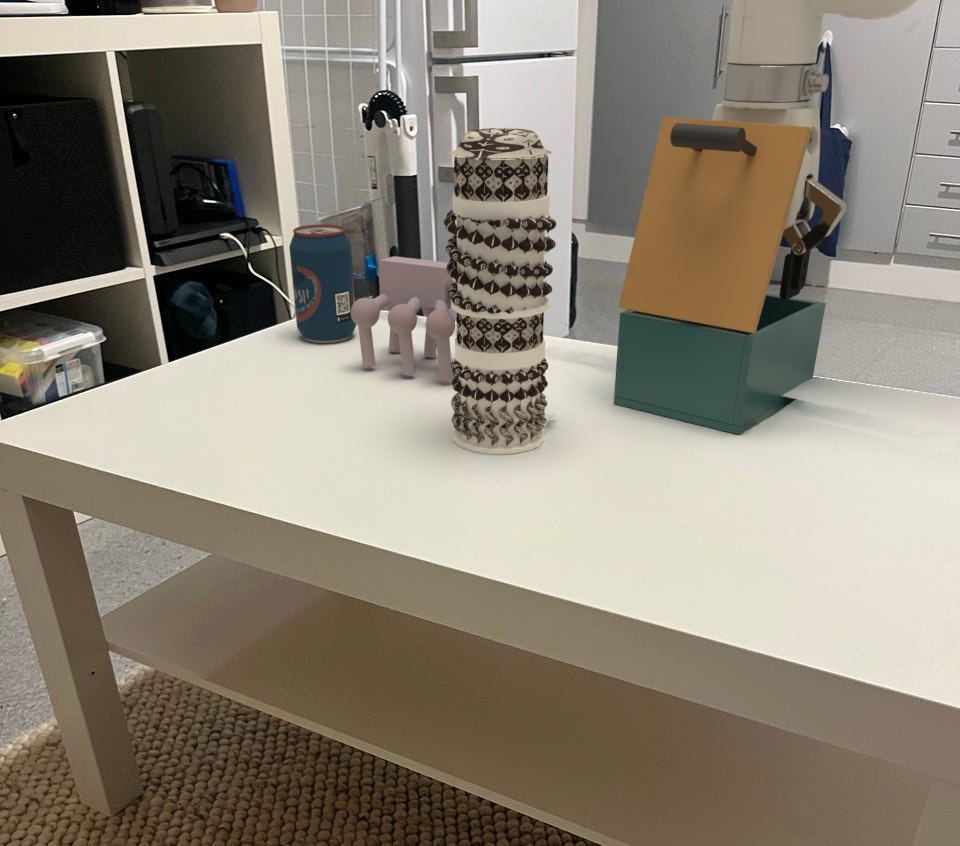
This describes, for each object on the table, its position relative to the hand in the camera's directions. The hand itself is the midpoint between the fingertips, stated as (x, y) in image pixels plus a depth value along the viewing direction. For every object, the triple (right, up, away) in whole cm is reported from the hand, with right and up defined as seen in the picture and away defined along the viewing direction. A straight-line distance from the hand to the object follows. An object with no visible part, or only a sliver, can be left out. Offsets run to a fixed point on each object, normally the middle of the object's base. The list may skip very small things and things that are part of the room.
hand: (742, 288), depth 98 cm
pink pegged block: (-29, -5, +11) cm, 31 cm away
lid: (-5, +3, -9) cm, 10 cm away
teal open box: (-2, -10, +3) cm, 10 cm away
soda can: (-43, +2, +22) cm, 49 cm away
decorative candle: (-24, -16, -6) cm, 29 cm away
